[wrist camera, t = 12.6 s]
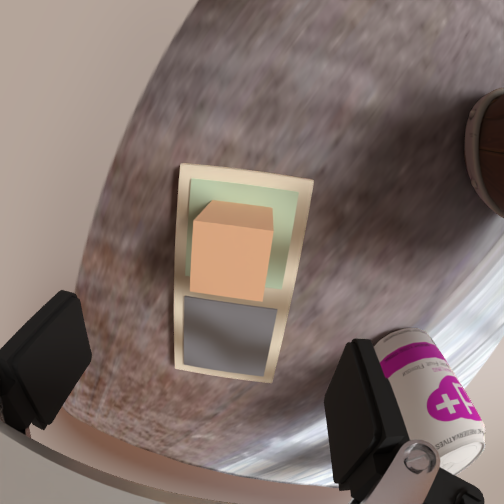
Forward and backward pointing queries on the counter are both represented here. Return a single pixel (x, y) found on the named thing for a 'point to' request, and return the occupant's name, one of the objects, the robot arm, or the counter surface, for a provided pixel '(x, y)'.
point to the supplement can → (431, 398)
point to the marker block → (231, 250)
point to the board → (233, 309)
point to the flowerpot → (487, 149)
